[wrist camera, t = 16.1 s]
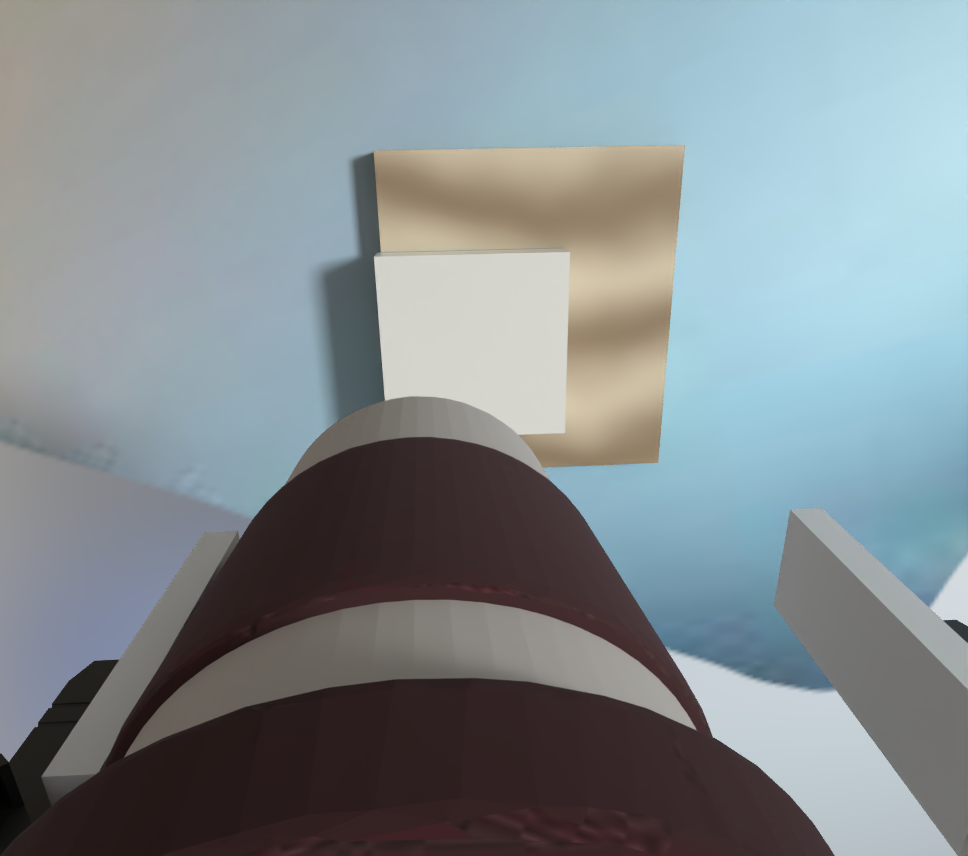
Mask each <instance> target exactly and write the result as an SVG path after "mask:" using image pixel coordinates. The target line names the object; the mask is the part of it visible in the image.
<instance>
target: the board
mask: <svg viewBox="0 0 968 856" xmlns="http://www.w3.org/2000/svg"><path fill="white" fill-rule="evenodd" d="M684 149H685V145H659V146H605V147H550V148H496V149H442V150H387V151H374V163H375V177H376V191H377V205H378V218H379V232H380V246H381V252H402V251H443V250H484V249H525V248H565V249H567V250H568V251H570V271H569V307H568V343H567V379H566V414H565V433H553V434H524V435H519V436H520V437H521V438H522V439H523V440H524V441H525V443H526V444H527V445H528V446H529V447H530V449H531V450H532V452H533V453H534V454H535V456H536V457H537V459H538V461H539V462H540V464H541V466H542V467H559V466H586V465H613V464H640V463H658V458H659V446H660V434H661V422H662V410H663V398H664V387H665V375H666V363H667V351H668V339H669V327H670V315H671V303H672V291H673V280H674V268H675V256H676V244H677V232H678V220H679V208H680V196H681V185H682V173H683V161H684Z"/></svg>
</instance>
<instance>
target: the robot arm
mask: <svg viewBox="0 0 968 856" xmlns="http://www.w3.org/2000/svg"><path fill="white" fill-rule="evenodd" d="M238 542H239V534H238V531H227V532H226V531H225V532H205V533H204V534H203V535H202V537H201V538H200V540H199V541H198V543H197V544H196V546H195V547H194V549H193V550H192V552H191V553H190V555H189V556H188V558H187V559H186V561H185V562H184V564H183V565H182V567H181V568H180V570H179V571H178V573H177V574H176V576H175V577H174V579H173V580H172V582H171V583H170V585H169V586H168V588H167V589H166V591H165V592H164V594H163V595H162V597H161V598H160V600H159V601H158V603H157V604H156V606H155V607H154V609H153V610H152V612H151V613H150V615H149V616H148V618H147V619H146V621H145V622H144V624H143V625H142V627H141V628H140V630H139V631H138V633H137V634H136V636H135V637H134V639H133V640H132V642H131V643H130V645H129V646H128V648H127V649H126V651H125V652H124V654H123V655H122V657H121V658H120V660H103V661H94V662H92V663H91V664H90V665H89V666H87V667H86V668H85V669H84V670H82V671H81V672H80V673H79V674H77V675H76V676H75V677H73V678H72V679H71V680H70V681H69V682H68V683H67V684H66V686H65V687H64V688H63V690H62V691H61V693H60V694H59V695H58V696H57V698H56V699H55V701H54V702H53V703H52V708H49V709H48V710H47V711H46V713H45V714H44V715H43V717H42V718H41V719H40V721H39V722H38V727H35V728H34V729H33V730H32V732H31V733H30V735H29V736H28V737H27V738H26V740H25V741H24V743H23V744H22V745H21V747H20V748H19V749H18V751H17V752H16V753H15V755H14V756H13V757H12V759H11V760H10V762H8V761H7V760H6V759H5V758H4V756H3V755H2V754H0V855H1V854H2V853H3V852H4V851H5V850H6V848H7V847H8V846H9V845H10V844H11V843H12V842H13V840H14V839H15V838H16V837H17V836H18V835H19V834H21V833H22V832H23V831H24V830H25V829H26V828H27V827H28V826H30V825H31V824H32V823H33V822H34V821H35V820H36V819H38V818H39V817H40V816H41V815H42V814H43V813H44V812H45V811H47V810H48V809H49V808H50V807H51V806H52V805H53V804H55V803H56V802H57V801H58V800H59V799H60V798H61V797H63V796H64V795H66V794H67V793H69V792H70V791H72V790H73V789H75V788H76V787H78V786H79V785H81V784H82V783H84V782H85V781H87V780H88V779H89V778H91V777H92V776H94V775H95V774H97V773H98V772H100V771H101V770H103V769H104V767H105V765H106V762H107V760H108V757H109V755H110V752H111V750H112V747H113V745H114V743H115V741H116V739H117V736H118V734H119V732H120V730H121V728H122V725H123V724H124V722H125V721H126V719H127V717H128V716H129V714H130V713H131V711H132V709H133V708H134V706H135V705H136V703H137V701H138V700H139V698H140V697H141V695H142V693H143V692H144V690H145V689H146V687H147V686H148V684H149V682H150V681H151V679H152V678H153V676H154V675H155V673H156V671H157V670H158V668H159V667H160V665H161V663H162V662H163V660H164V659H165V657H166V656H167V654H168V652H169V651H170V649H171V648H172V646H173V644H174V643H175V641H176V640H177V638H178V637H179V635H180V633H181V632H182V630H183V629H184V627H185V626H186V624H187V622H188V621H189V619H190V618H191V616H192V614H193V613H194V611H195V610H196V608H197V607H198V605H199V603H200V602H201V600H202V599H203V597H204V595H205V594H206V592H207V591H208V589H209V588H210V586H211V584H212V583H213V581H214V580H215V578H216V576H217V575H218V573H219V572H220V570H221V569H222V567H223V565H224V564H225V562H226V561H227V559H228V558H229V556H230V554H231V553H232V551H233V550H234V548H235V546H236V545H237V543H238ZM774 606H775V608H776V609H777V610H778V612H779V613H780V614H781V616H782V617H783V619H784V620H785V621H786V623H787V624H788V625H789V627H790V628H791V629H792V631H793V632H794V633H795V635H796V636H797V638H798V639H799V640H800V642H801V643H802V644H803V646H804V647H805V648H806V650H807V651H808V653H809V654H810V655H811V657H812V658H813V659H814V661H815V662H816V663H817V665H818V666H819V667H820V669H821V670H822V672H823V673H824V674H825V676H826V677H827V678H828V680H829V681H830V682H831V684H832V685H833V687H834V688H835V689H836V691H837V692H838V693H839V695H840V696H841V697H842V698H843V700H844V702H845V703H846V704H847V705H848V707H849V708H850V710H851V711H852V712H853V714H854V715H855V716H856V718H857V719H858V720H859V722H860V723H861V725H862V726H863V727H864V729H865V730H866V731H867V733H868V734H869V736H870V737H871V738H872V739H873V741H874V742H875V743H876V745H877V746H878V748H879V749H880V750H881V752H882V753H883V755H884V756H885V757H886V758H887V760H888V761H889V763H890V764H891V765H892V767H893V768H894V770H895V771H896V772H897V773H898V775H899V776H900V778H901V779H902V780H903V782H904V783H905V784H906V786H907V787H908V788H909V790H910V791H911V793H912V794H913V795H914V797H915V798H916V799H917V801H918V802H919V803H920V805H921V806H922V808H923V809H924V810H925V811H926V813H927V814H928V816H929V817H930V818H931V820H932V821H933V823H934V824H935V825H936V827H937V828H938V829H939V831H940V832H941V833H942V835H943V836H944V837H945V839H946V840H947V842H948V843H949V844H950V846H951V847H952V848H953V850H954V851H955V852H956V854H957V855H958V856H968V626H966V625H964V624H963V623H961V622H959V621H957V620H942V619H941V618H940V617H939V616H938V615H936V614H935V613H934V612H933V611H932V610H931V609H930V608H929V607H928V606H927V605H926V604H925V603H924V602H922V601H921V600H920V599H919V598H918V597H917V596H916V595H915V594H914V593H913V592H912V591H911V590H909V589H908V588H907V587H906V586H905V585H904V584H903V583H902V582H901V581H900V580H899V579H898V578H896V577H895V576H894V575H893V574H892V573H891V572H890V571H889V570H888V569H887V568H886V567H885V566H883V565H882V564H881V563H880V562H879V561H878V560H877V559H876V558H875V557H874V556H873V555H872V554H870V553H869V552H868V551H867V550H866V549H865V548H864V547H863V546H862V545H861V544H860V543H859V542H858V541H856V540H855V539H854V538H853V537H852V536H851V535H850V534H849V533H848V532H847V531H846V530H845V529H843V528H842V527H841V526H840V525H839V524H838V523H837V522H836V521H835V520H834V519H833V518H832V517H830V516H829V515H828V514H827V513H826V512H825V511H824V510H823V509H822V508H819V509H794V510H790V515H789V520H788V526H787V532H786V538H785V544H784V550H783V555H782V561H781V567H780V573H779V579H778V585H777V590H776V596H775V602H774Z"/></svg>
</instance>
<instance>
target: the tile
mask: <svg viewBox="0 0 968 856" xmlns="http://www.w3.org/2000/svg"><path fill="white" fill-rule="evenodd" d="M374 264H375V277H376V291H377V304H378V317H379V330H380V343H381V356H382V369H383V382H384V395H385V401H386V400H390V399H395V398H402V397H409V396H421V397H438V398H445V399H451V400H455V401H459V402H463V403H466V404H468V405H471V406H473V407H475V408H478V409H480V410H482V411H485V412H487V413H489V414H490V415H492V416H494V417H495V418H497V419H498V420H500V421H502V422H503V423H504V424H506V425H507V426H508V427H510V428H511V429H512V430H514V431H515V432H516V433H517V434H518V435H524V434H553V433H565V414H566V379H567V343H568V307H569V271H570V251H568V250H567V249H565V248H525V249H484V250H443V251H402V252H377V254H376V255H375V256H374Z"/></svg>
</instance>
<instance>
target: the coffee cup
mask: <svg viewBox="0 0 968 856" xmlns="http://www.w3.org/2000/svg"><path fill="white" fill-rule="evenodd" d="M0 856H834V854H833V852H832V851H831V849H830V848H829V846H828V845H827V843H826V842H825V840H824V839H823V837H822V836H821V834H820V833H819V831H818V830H817V828H816V827H815V825H814V824H813V823H812V821H811V820H810V819H809V818H808V817H807V815H806V814H805V813H804V812H803V811H802V810H801V809H800V807H799V806H798V805H797V804H796V803H795V802H794V801H793V799H792V798H791V797H790V796H789V795H788V794H787V793H786V792H785V791H784V790H783V789H782V788H780V787H779V786H778V785H777V784H776V783H775V782H774V781H773V780H772V779H771V778H770V777H768V775H766V774H765V773H764V772H763V771H762V770H761V769H760V768H759V767H758V766H756V765H755V764H754V763H752V762H750V761H749V760H747V759H746V758H744V757H743V756H741V755H739V754H738V753H737V752H735V751H734V750H732V749H731V748H729V747H728V746H726V745H724V744H723V743H722V742H720V741H719V740H717V739H715V738H713V737H712V734H711V731H710V728H709V726H708V723H707V721H706V718H705V715H704V713H703V710H702V708H701V706H700V705H699V703H698V701H697V699H696V698H695V696H694V694H693V692H692V691H691V689H690V687H689V685H688V684H687V682H686V680H685V678H684V677H683V675H682V673H681V672H680V670H679V669H678V667H677V665H676V664H675V662H674V661H673V659H672V657H671V656H670V654H669V653H668V651H667V650H666V648H665V646H664V645H663V643H662V642H661V640H660V638H659V637H658V635H657V634H656V632H655V630H654V629H653V627H652V626H651V624H650V623H649V621H648V619H647V618H646V616H645V615H644V613H643V611H642V610H641V608H640V607H639V605H638V603H637V602H636V600H635V599H634V597H633V596H632V594H631V592H630V591H629V589H628V588H627V586H626V584H625V583H624V581H623V580H622V578H621V576H620V575H619V573H618V572H617V570H616V569H615V567H614V565H613V564H612V562H611V561H610V559H609V557H608V556H607V554H606V553H605V551H604V549H603V548H602V546H601V545H600V543H599V541H598V540H597V538H596V537H595V535H594V534H593V532H592V530H591V529H590V527H589V526H588V524H587V522H586V521H585V519H584V518H583V516H582V515H581V514H580V512H579V511H578V510H577V508H576V507H575V506H574V505H573V504H572V502H571V501H570V500H569V499H568V498H567V496H566V495H565V494H563V493H562V492H561V491H560V490H559V489H558V488H557V487H556V486H555V485H554V484H553V483H552V482H551V481H550V479H549V478H548V476H547V474H546V473H545V471H544V469H543V467H542V466H541V464H540V462H539V461H538V459H537V457H536V456H535V454H534V453H533V452H532V450H531V449H530V447H529V446H528V445H527V444H526V443H525V441H524V440H523V439H522V438H521V437H520V436H519V435H518V434H517V433H516V432H515V431H514V430H512V429H511V428H510V427H508V426H507V425H506V424H504V423H503V422H502V421H500V420H498V419H497V418H495V417H494V416H492V415H490V414H489V413H487V412H485V411H482V410H480V409H478V408H475V407H473V406H471V405H468V404H466V403H463V402H459V401H455V400H451V399H445V398H438V397H421V396H409V397H402V398H395V399H390V400H386V401H382V402H378V403H375V404H372V405H369V406H367V407H364V408H361V409H358V410H356V411H355V412H353V413H351V414H349V415H347V416H346V417H344V418H343V419H341V420H339V421H338V422H336V423H335V424H334V425H332V426H331V427H330V428H328V429H327V430H326V431H325V432H324V433H322V434H321V435H320V436H319V437H318V438H317V439H316V440H315V441H314V442H313V443H312V445H311V446H310V447H309V448H308V449H307V451H306V452H305V454H304V455H303V456H302V458H301V459H300V461H299V462H298V464H297V466H296V467H295V469H294V471H293V472H292V474H291V476H290V477H289V479H288V481H287V482H286V484H285V486H283V487H282V488H281V489H280V490H279V491H278V492H277V493H276V494H275V495H274V496H273V497H272V498H271V499H270V500H269V501H267V503H266V504H265V505H264V506H263V508H262V509H261V510H260V511H259V512H258V514H257V515H256V516H255V517H254V519H253V520H252V521H251V523H250V524H249V526H248V528H247V529H246V531H245V532H244V534H243V535H242V537H241V539H240V540H239V542H238V543H237V545H236V546H235V548H234V550H233V551H232V553H231V554H230V556H229V558H228V559H227V561H226V562H225V564H224V565H223V567H222V569H221V570H220V572H219V573H218V575H217V576H216V578H215V580H214V581H213V583H212V584H211V586H210V588H209V589H208V591H207V592H206V594H205V595H204V597H203V599H202V600H201V602H200V603H199V605H198V607H197V608H196V610H195V611H194V613H193V614H192V616H191V618H190V619H189V621H188V622H187V624H186V626H185V627H184V629H183V630H182V632H181V633H180V635H179V637H178V638H177V640H176V641H175V643H174V644H173V646H172V648H171V649H170V651H169V652H168V654H167V656H166V657H165V659H164V660H163V662H162V663H161V665H160V667H159V668H158V670H157V671H156V673H155V675H154V676H153V678H152V679H151V681H150V682H149V684H148V686H147V687H146V689H145V690H144V692H143V693H142V695H141V697H140V698H139V700H138V701H137V703H136V705H135V706H134V708H133V709H132V711H131V713H130V714H129V716H128V717H127V719H126V721H125V722H124V724H123V725H122V728H121V730H120V732H119V734H118V736H117V739H116V741H115V743H114V745H113V747H112V750H111V752H110V755H109V757H108V760H107V762H106V765H105V767H104V769H103V770H101V771H100V772H98V773H97V774H95V775H94V776H92V777H91V778H89V779H88V780H87V781H85V782H84V783H82V784H81V785H79V786H78V787H76V788H75V789H73V790H72V791H70V792H69V793H67V794H66V795H64V796H63V797H61V798H60V799H59V800H58V801H57V802H56V803H55V804H53V805H52V806H51V807H50V808H49V809H48V810H47V811H45V812H44V813H43V814H42V815H41V816H40V817H39V818H38V819H36V820H35V821H34V822H33V823H32V824H31V825H30V826H28V827H27V828H26V829H25V830H24V831H23V832H22V833H21V834H19V835H18V836H17V837H16V838H15V839H14V840H13V842H12V843H11V844H10V845H9V846H8V847H7V848H6V850H5V851H4V852H3V853H2V854H1V855H0Z"/></svg>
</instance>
